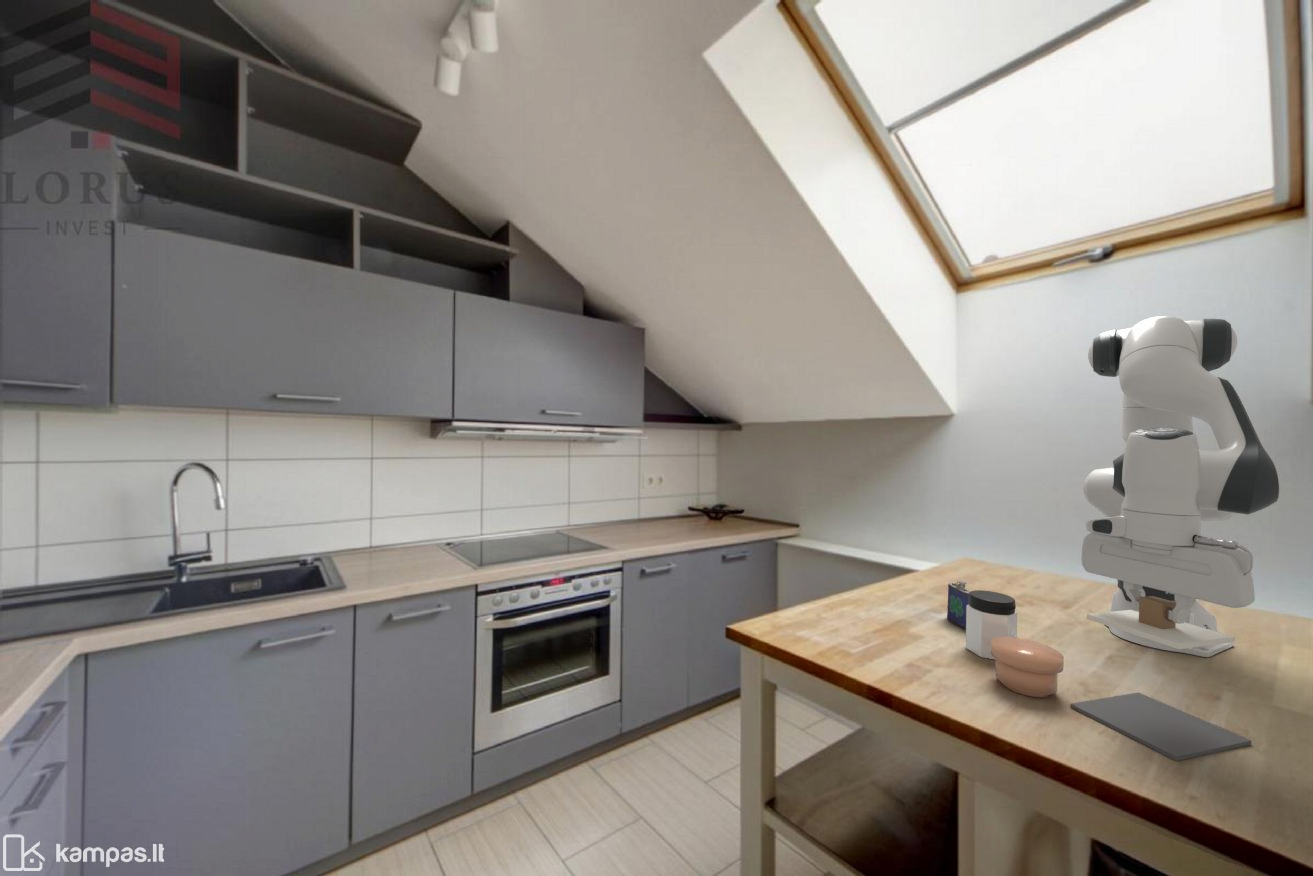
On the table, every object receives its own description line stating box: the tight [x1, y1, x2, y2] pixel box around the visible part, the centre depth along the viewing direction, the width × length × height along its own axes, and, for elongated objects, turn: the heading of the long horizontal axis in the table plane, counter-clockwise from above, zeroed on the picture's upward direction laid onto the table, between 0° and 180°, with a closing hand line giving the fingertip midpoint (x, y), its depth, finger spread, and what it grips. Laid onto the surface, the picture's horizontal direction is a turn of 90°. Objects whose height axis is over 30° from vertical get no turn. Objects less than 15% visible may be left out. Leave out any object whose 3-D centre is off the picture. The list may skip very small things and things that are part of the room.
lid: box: [1086, 596, 1236, 649], centre depth 78 cm, size 12×12×5 cm
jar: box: [965, 589, 1018, 661], centre depth 103 cm, size 9×8×12 cm
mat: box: [1069, 692, 1252, 762], centre depth 78 cm, size 16×14×1 cm
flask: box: [946, 580, 972, 631], centre depth 119 cm, size 9×3×11 cm, turn 2°
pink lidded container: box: [991, 637, 1065, 698], centre depth 89 cm, size 11×11×7 cm
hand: (1157, 616), depth 78 cm, fingers closed on lid, 3 cm apart
